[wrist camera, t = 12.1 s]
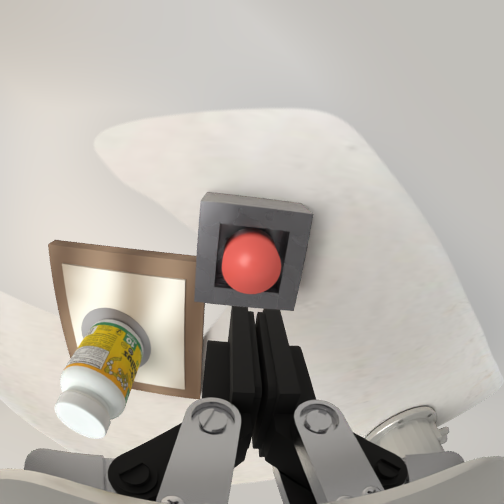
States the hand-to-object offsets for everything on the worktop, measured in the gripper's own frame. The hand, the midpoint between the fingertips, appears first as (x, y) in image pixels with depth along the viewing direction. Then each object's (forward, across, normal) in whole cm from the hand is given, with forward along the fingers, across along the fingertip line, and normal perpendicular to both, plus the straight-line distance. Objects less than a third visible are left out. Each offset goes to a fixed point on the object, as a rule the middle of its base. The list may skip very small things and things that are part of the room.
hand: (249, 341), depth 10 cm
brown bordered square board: (+13, +9, +10) cm, 18 cm away
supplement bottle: (+11, +10, +11) cm, 19 cm away
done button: (+10, -1, +1) cm, 10 cm away
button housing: (+13, -1, +1) cm, 13 cm away
